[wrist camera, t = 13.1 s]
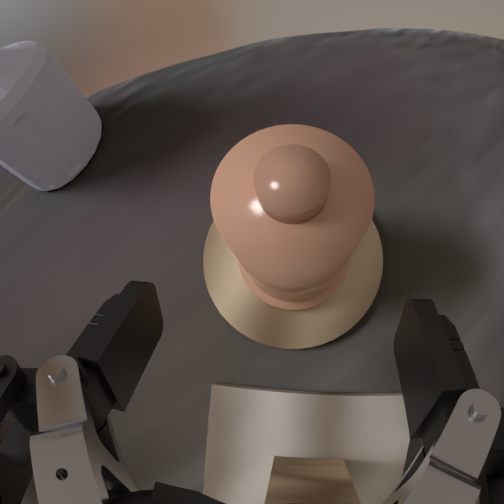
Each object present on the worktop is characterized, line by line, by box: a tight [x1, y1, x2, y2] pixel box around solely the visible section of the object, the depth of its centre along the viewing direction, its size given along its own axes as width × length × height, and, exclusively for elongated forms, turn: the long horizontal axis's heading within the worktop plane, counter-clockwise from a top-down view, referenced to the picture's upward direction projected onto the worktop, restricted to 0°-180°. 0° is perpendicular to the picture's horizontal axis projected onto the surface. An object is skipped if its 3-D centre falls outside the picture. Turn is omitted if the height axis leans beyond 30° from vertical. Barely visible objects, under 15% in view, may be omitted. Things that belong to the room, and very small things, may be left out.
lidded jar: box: [210, 124, 375, 311], centre depth 15 cm, size 6×6×10 cm
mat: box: [203, 220, 383, 349], centre depth 20 cm, size 11×11×1 cm
